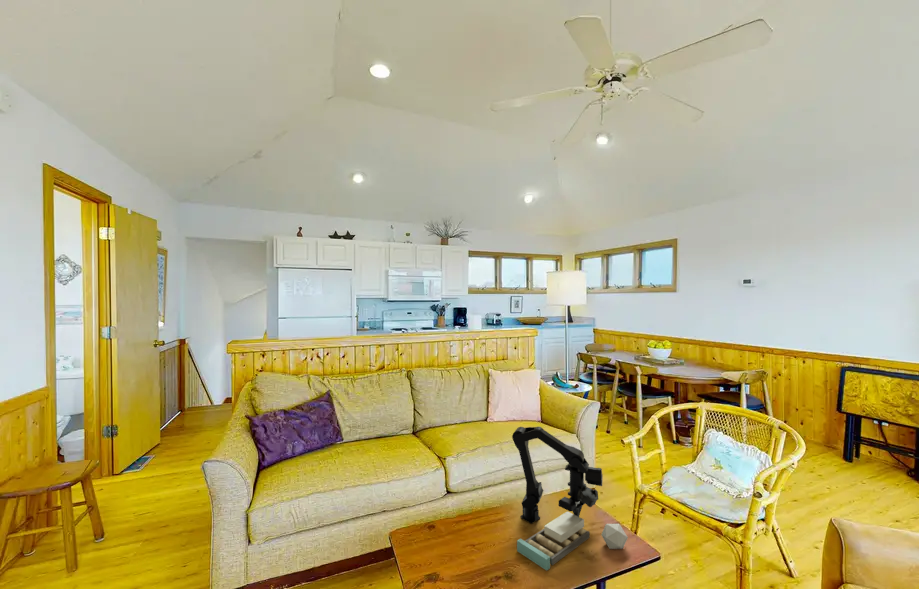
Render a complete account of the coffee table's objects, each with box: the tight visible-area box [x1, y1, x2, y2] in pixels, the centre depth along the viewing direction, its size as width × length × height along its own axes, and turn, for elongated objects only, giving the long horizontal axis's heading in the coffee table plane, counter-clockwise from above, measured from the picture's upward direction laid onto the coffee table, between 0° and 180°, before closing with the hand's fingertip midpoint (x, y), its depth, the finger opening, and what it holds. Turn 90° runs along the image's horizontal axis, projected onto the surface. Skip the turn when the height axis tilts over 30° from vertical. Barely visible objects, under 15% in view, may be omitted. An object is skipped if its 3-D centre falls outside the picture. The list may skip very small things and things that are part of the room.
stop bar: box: [516, 538, 551, 572], centre depth 143 cm, size 14×2×4 cm, turn 40°
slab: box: [543, 510, 585, 543], centre depth 156 cm, size 8×16×3 cm, turn 130°
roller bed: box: [524, 527, 591, 566], centre depth 153 cm, size 13×25×3 cm, turn 130°
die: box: [600, 523, 629, 550], centre depth 151 cm, size 8×9×10 cm
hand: (576, 518), depth 162 cm, fingers closed
